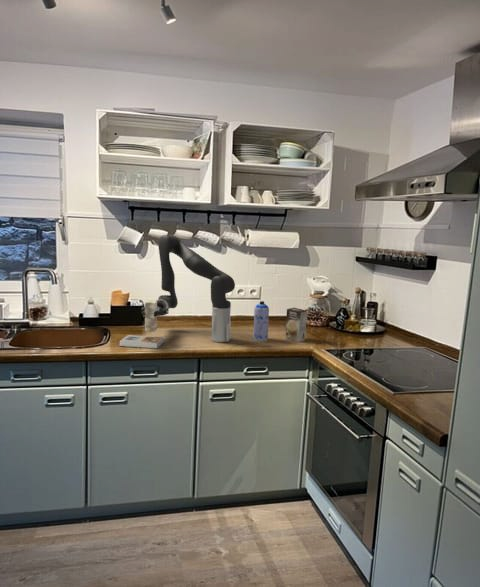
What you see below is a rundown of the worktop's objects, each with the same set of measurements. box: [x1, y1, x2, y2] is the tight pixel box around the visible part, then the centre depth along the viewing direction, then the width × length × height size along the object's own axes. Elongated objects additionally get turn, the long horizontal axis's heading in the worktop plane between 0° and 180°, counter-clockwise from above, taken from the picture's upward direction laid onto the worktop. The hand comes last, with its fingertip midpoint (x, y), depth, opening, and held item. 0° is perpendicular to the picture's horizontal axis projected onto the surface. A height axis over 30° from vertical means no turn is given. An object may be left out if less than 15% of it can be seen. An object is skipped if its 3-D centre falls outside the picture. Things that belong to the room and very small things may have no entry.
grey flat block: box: [119, 334, 165, 349], centre depth 223 cm, size 18×12×3 cm, turn 84°
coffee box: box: [284, 307, 308, 343], centre depth 242 cm, size 9×6×16 cm
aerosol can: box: [252, 300, 270, 342], centre depth 239 cm, size 8×8×20 cm
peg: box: [144, 300, 158, 333], centre depth 221 cm, size 4×4×14 cm
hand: (149, 314), depth 218 cm, fingers closed on peg, 4 cm apart
